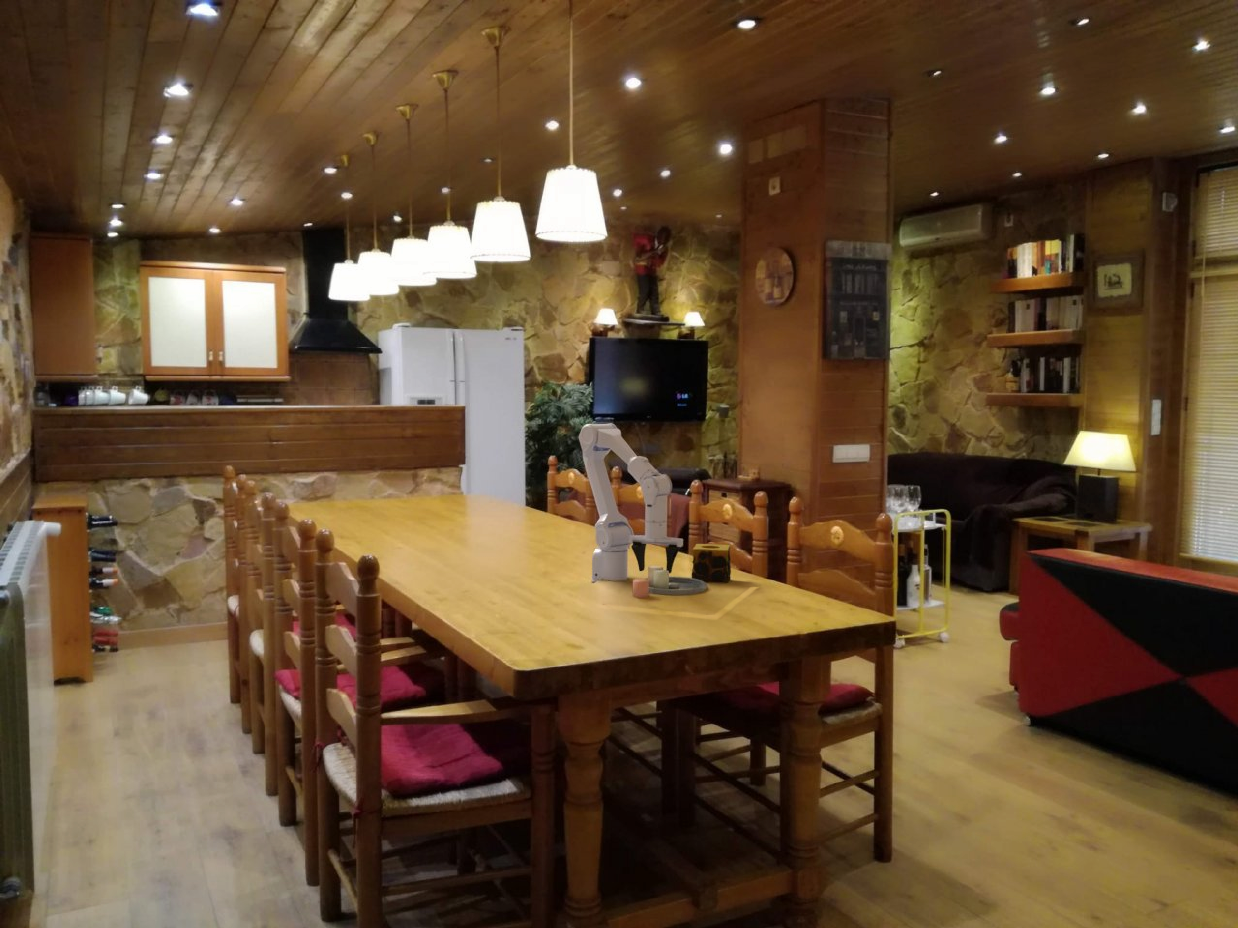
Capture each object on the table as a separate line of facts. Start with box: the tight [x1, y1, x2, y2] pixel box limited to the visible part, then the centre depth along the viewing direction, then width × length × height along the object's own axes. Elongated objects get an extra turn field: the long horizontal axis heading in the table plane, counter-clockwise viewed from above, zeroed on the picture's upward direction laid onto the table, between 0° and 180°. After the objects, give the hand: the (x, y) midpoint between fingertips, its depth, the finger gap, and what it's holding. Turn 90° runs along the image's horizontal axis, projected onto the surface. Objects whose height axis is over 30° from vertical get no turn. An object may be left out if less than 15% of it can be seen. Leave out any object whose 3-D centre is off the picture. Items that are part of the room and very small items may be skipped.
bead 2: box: [647, 565, 664, 587], centre depth 252 cm, size 4×4×5 cm
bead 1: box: [632, 578, 650, 599], centre depth 239 cm, size 4×4×5 cm
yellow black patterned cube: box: [691, 543, 732, 584], centre depth 262 cm, size 10×10×10 cm
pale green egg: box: [653, 569, 670, 589], centre depth 246 cm, size 4×4×5 cm
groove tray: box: [645, 576, 708, 596], centre depth 250 cm, size 18×18×2 cm
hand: (655, 571), depth 252 cm, fingers open, 7 cm apart
